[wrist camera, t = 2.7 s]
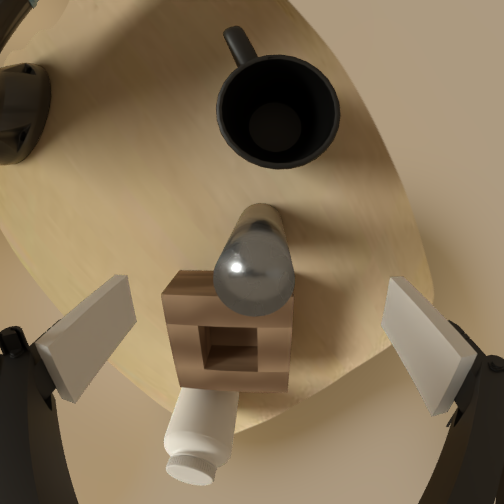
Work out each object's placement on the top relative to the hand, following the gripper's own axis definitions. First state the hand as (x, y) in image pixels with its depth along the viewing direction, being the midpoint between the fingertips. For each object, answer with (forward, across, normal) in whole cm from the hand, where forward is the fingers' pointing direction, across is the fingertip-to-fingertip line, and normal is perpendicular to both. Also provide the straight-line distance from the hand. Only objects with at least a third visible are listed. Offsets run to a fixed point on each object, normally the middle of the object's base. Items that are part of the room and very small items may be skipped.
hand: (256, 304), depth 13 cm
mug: (+16, 0, +12) cm, 20 cm away
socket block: (+16, -3, -11) cm, 20 cm away
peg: (+16, 0, 0) cm, 16 cm away
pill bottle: (+16, -7, -23) cm, 29 cm away
